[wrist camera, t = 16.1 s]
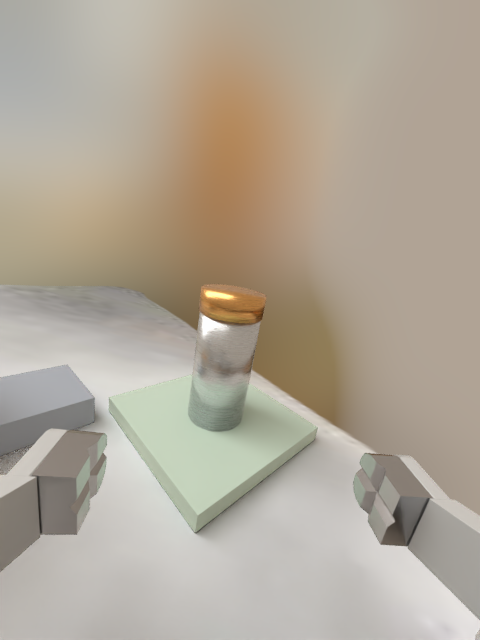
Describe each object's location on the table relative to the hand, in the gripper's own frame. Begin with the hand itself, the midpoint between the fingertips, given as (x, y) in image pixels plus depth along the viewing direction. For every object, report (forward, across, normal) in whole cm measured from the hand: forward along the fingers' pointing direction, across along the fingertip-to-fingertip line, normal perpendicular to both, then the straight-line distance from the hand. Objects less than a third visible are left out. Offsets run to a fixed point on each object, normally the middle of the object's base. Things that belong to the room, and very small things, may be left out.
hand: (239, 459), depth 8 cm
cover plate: (+11, -13, -8) cm, 19 cm away
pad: (+12, 0, -8) cm, 14 cm away
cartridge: (+12, 0, -7) cm, 14 cm away
